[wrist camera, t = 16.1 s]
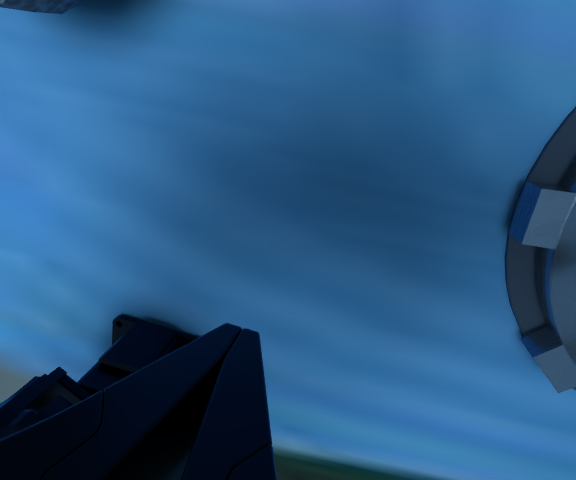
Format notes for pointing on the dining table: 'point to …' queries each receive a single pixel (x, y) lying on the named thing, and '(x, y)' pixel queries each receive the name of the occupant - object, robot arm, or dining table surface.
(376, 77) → the dining table surface
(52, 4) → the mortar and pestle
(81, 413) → the robot arm
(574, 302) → the sprocket
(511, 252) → the base mat
